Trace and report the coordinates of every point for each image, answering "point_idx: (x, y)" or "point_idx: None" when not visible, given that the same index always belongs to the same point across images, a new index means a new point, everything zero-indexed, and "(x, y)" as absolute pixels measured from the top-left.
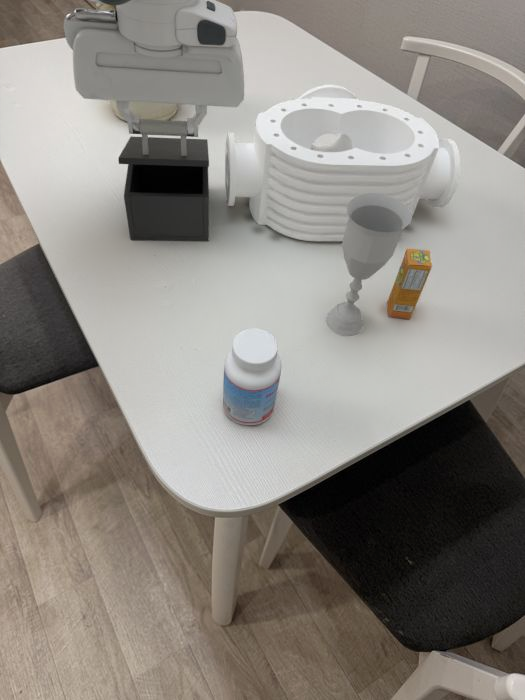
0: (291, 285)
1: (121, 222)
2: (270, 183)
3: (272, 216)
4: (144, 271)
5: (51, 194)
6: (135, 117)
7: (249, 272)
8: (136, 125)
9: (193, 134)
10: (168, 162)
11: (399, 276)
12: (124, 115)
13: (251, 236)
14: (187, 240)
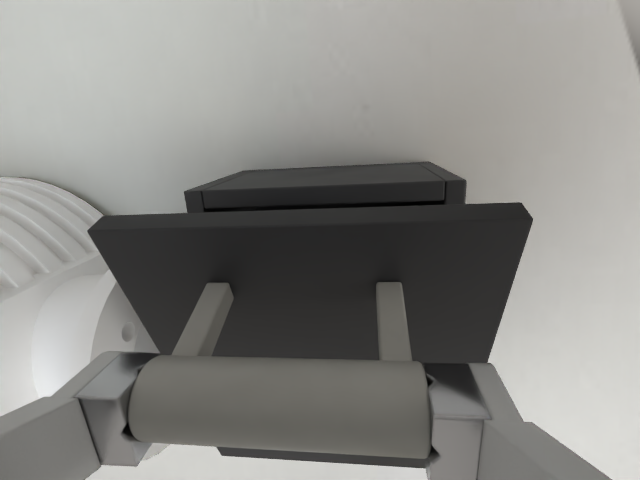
0: (38, 23)
1: None
2: (20, 271)
3: (82, 225)
4: (388, 40)
5: (634, 323)
6: (463, 469)
7: (137, 62)
8: (451, 399)
9: (120, 357)
10: (273, 218)
11: None
12: (570, 465)
13: (151, 195)
14: (291, 168)
